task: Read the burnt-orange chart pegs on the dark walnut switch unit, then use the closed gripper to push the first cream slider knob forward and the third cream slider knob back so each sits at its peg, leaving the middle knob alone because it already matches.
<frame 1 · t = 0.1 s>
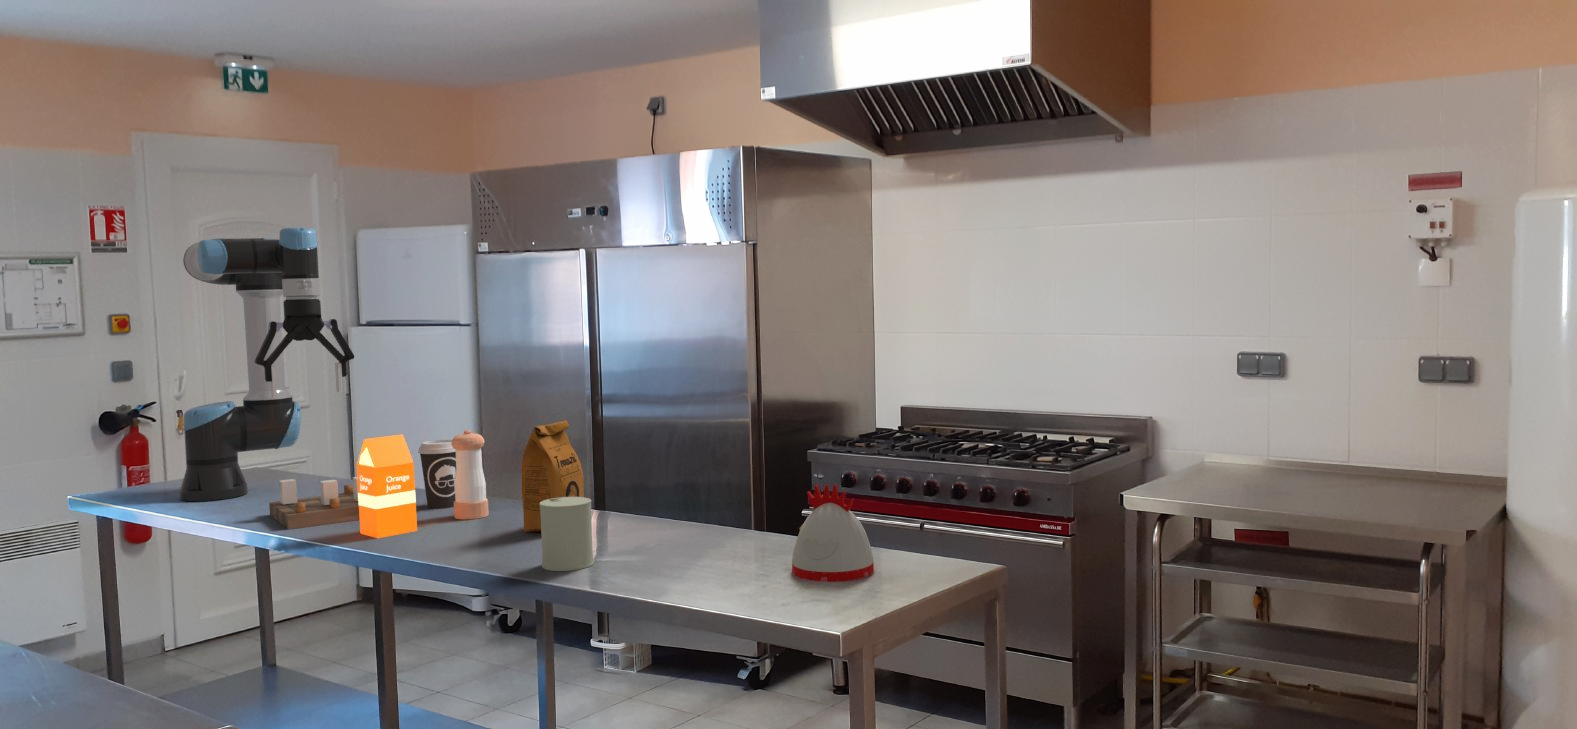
hand: (307, 394, 250), 28 cm above the table, tool pointing down, fingers open, 13 cm apart
coffee cup: (442, 506, 262), on the table
coffee package: (555, 529, 233), on the table
switch b: (329, 492, 250), point 6 cm above the table, slide at 4.0 cm
kitchen timer: (833, 572, 192), on the table
switch c: (361, 488, 254), point 6 cm above the table, slide at 4.0 cm
orange juice: (389, 533, 235), on the table
can: (568, 565, 202), on the table
switch a: (288, 491, 253), point 6 cm above the table, slide at -4.0 cm
switch unit: (326, 515, 254), on the table
pepper shaker: (471, 517, 249), on the table
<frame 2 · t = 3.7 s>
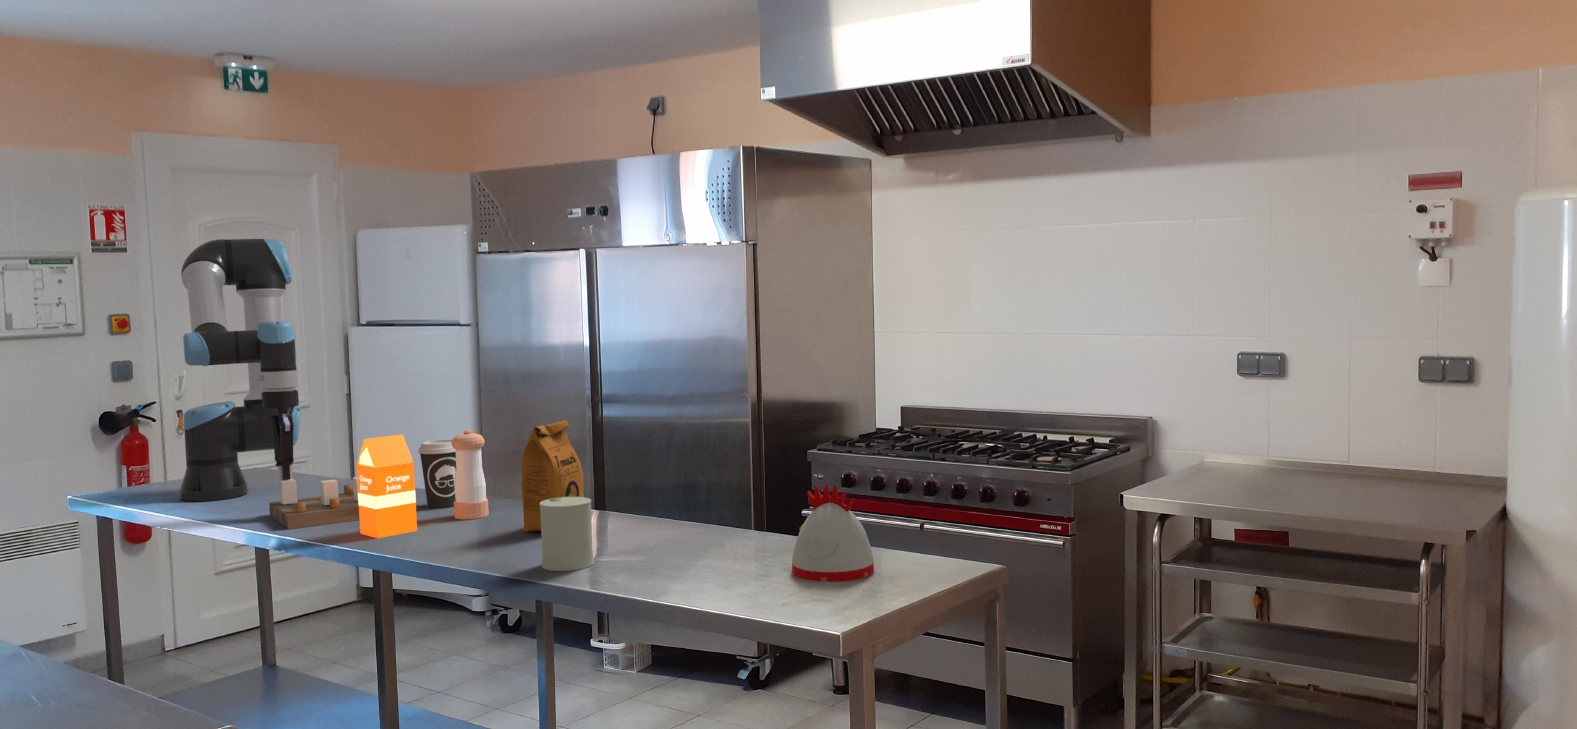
hand: (286, 493, 255), 5 cm above the table, tool pointing down, fingers closed
switch a: (288, 491, 253), point 6 cm above the table, slide at -3.8 cm, touching gripper
everything else where it was.
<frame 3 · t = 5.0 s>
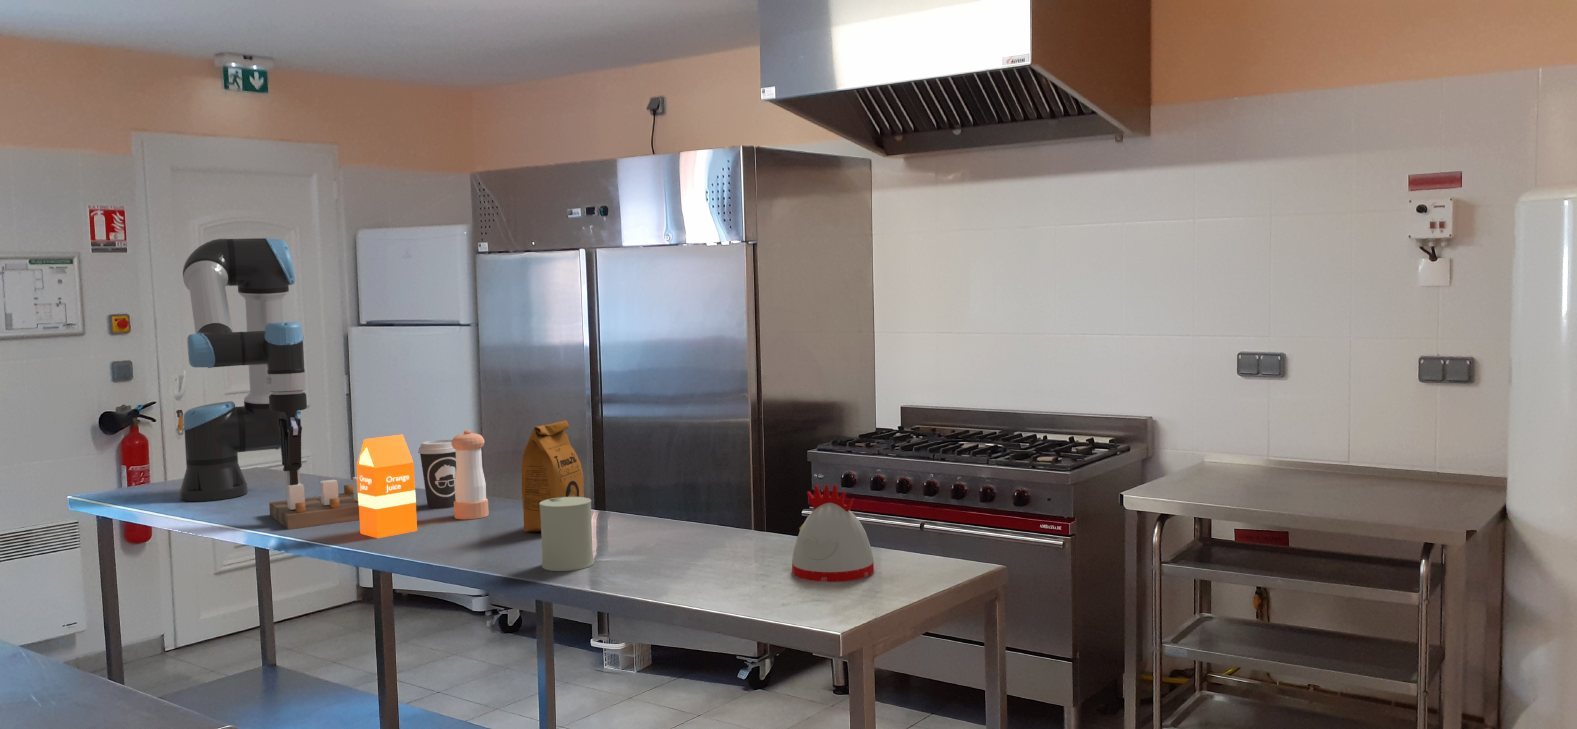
hand: (293, 498, 248), 5 cm above the table, tool pointing down, fingers closed
switch a: (295, 496, 246), point 6 cm above the table, slide at 4.1 cm, touching gripper
everything else where it was.
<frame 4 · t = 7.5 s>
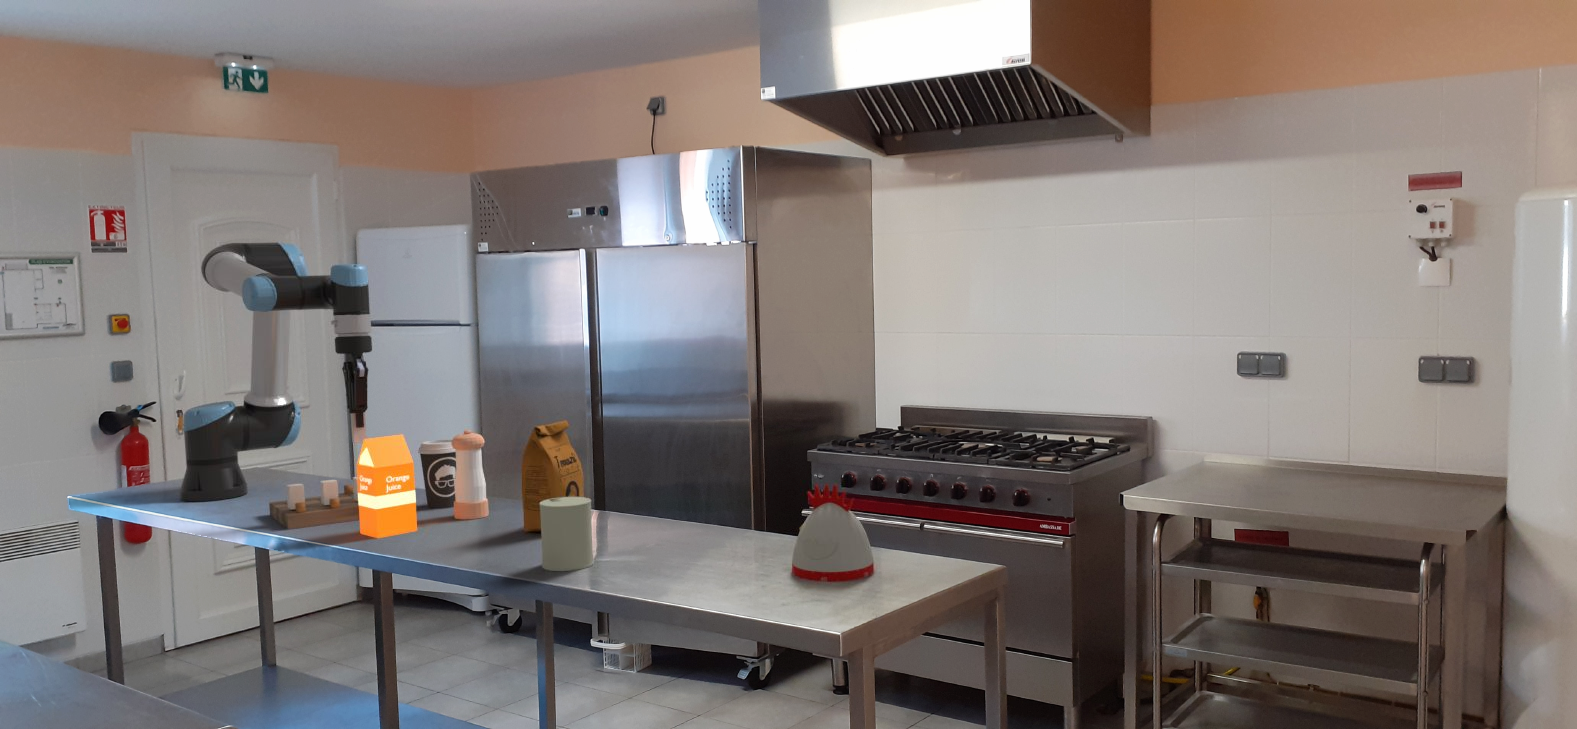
hand: (359, 442, 248), 17 cm above the table, tool pointing down, fingers closed
switch a: (295, 496, 246), point 6 cm above the table, slide at 4.1 cm
everything else where it was.
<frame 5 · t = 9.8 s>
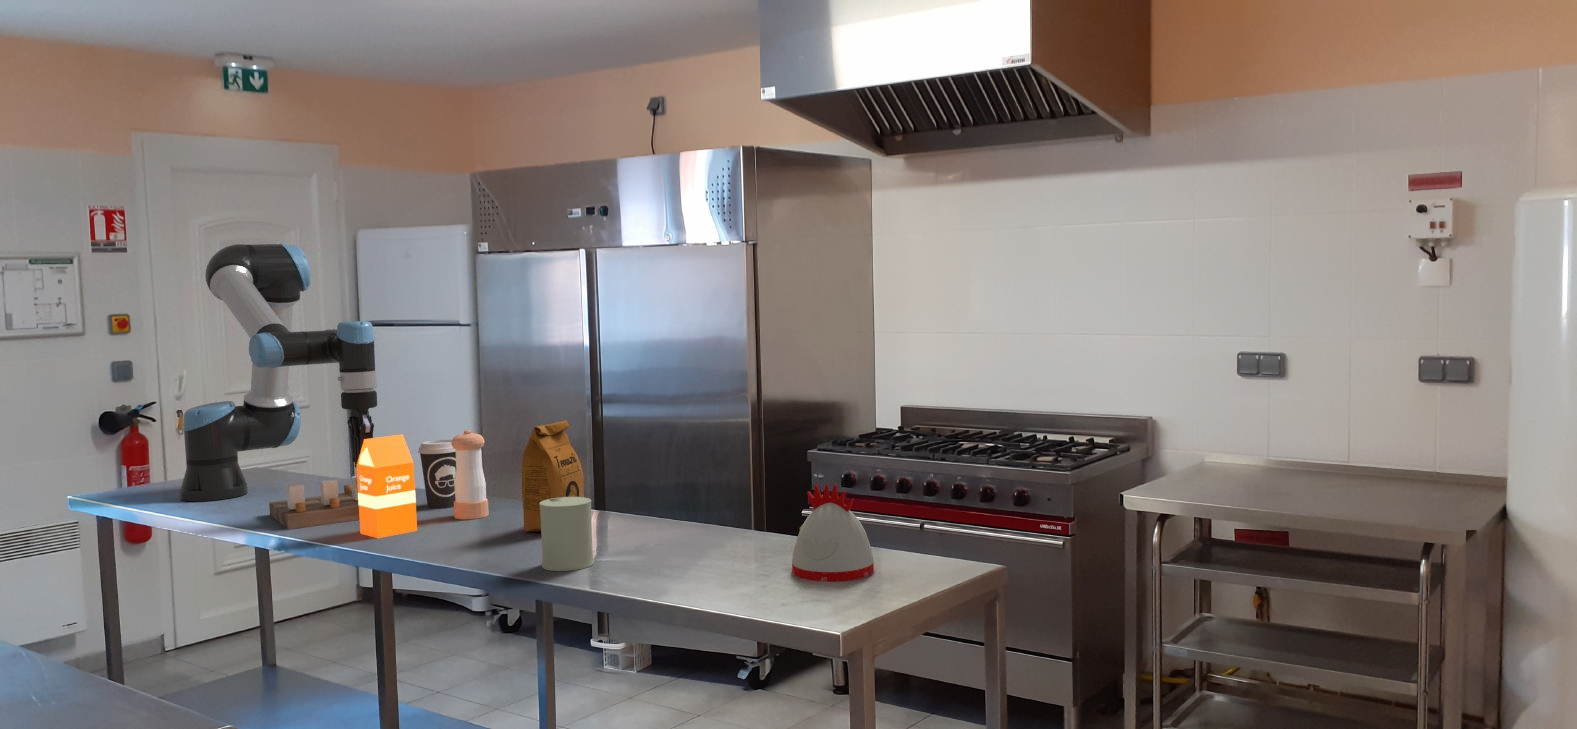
hand: (364, 494, 253), 5 cm above the table, tool pointing down, fingers closed
switch c: (360, 487, 255), point 6 cm above the table, slide at 2.7 cm, touching gripper
everything else where it was.
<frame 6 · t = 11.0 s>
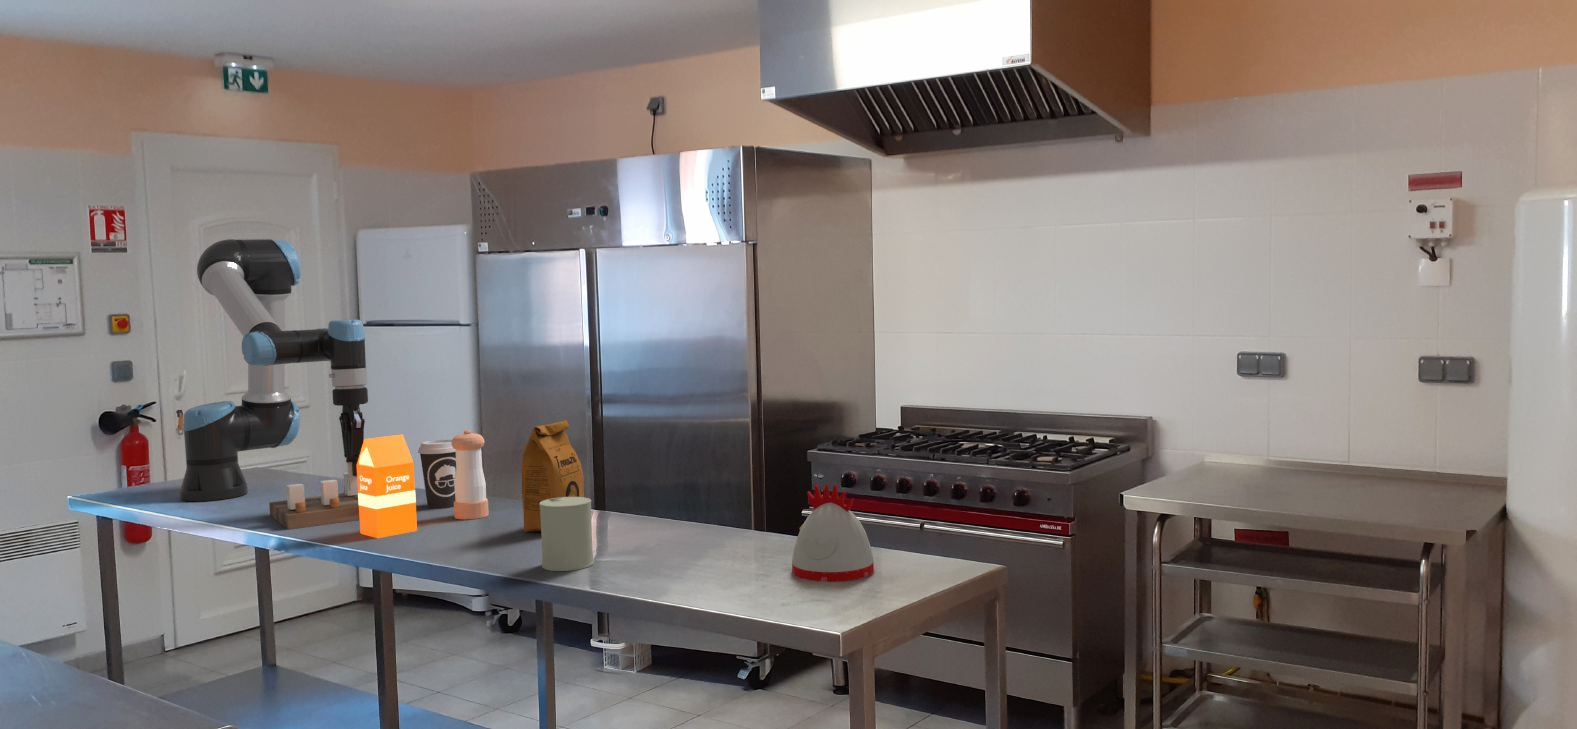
hand: (355, 489, 259), 5 cm above the table, tool pointing down, fingers closed
switch c: (352, 483, 261), point 6 cm above the table, slide at -4.3 cm, touching gripper
everything else where it was.
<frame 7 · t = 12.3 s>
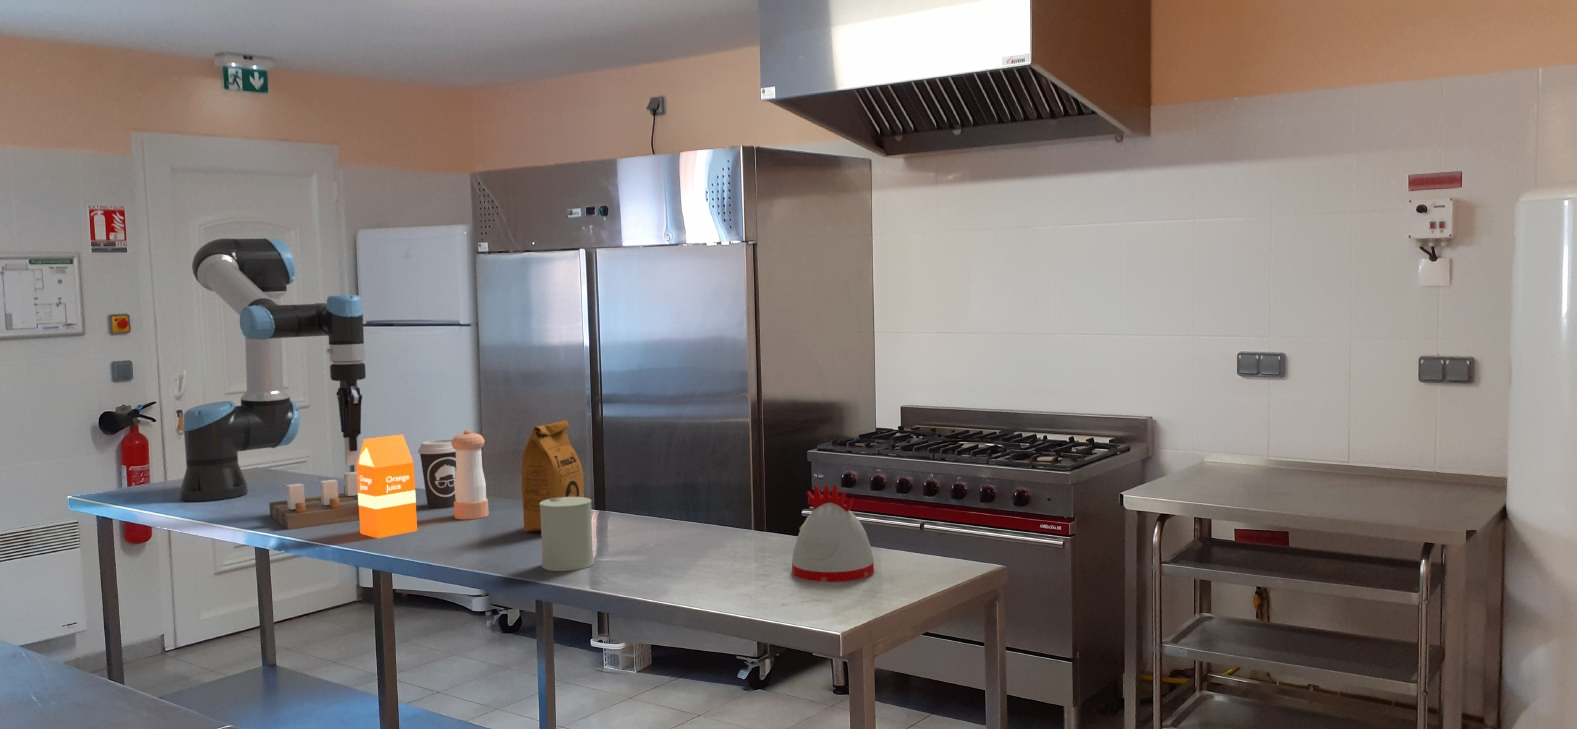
hand: (352, 464, 260), 11 cm above the table, tool pointing down, fingers closed
switch c: (352, 483, 261), point 6 cm above the table, slide at -4.1 cm
everything else where it was.
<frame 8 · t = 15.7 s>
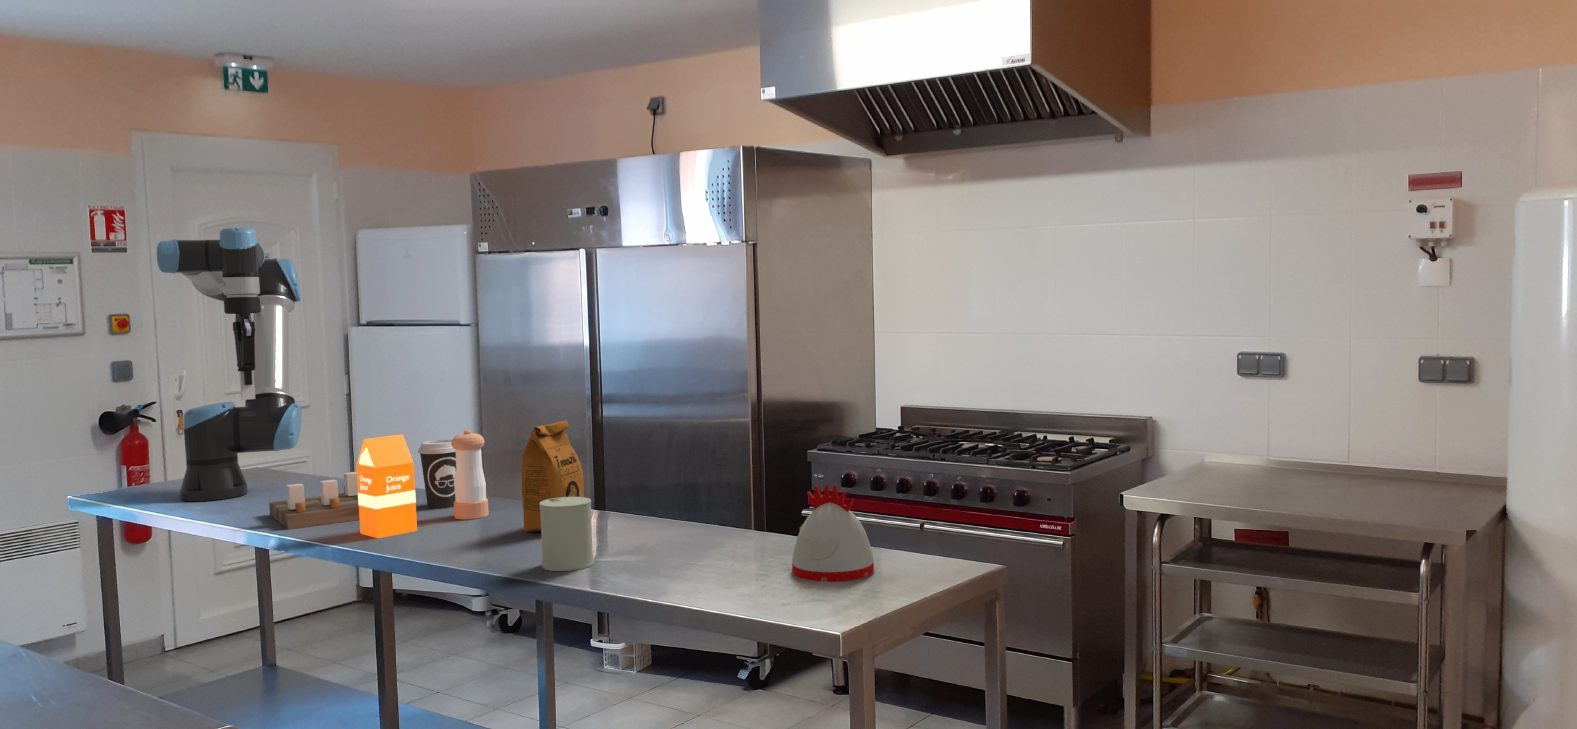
hand: (248, 399, 258), 26 cm above the table, tool pointing down, fingers closed
nothing on the table moved.
at the end: switch a slide at 4.1 cm; switch b slide at 4.0 cm; switch c slide at -4.1 cm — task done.
